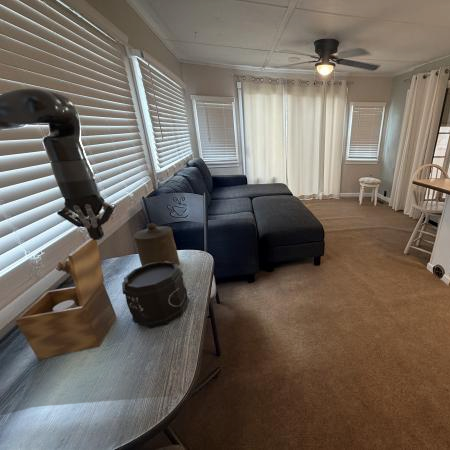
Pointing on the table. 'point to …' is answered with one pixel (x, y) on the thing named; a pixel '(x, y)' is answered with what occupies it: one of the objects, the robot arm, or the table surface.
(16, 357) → the table surface
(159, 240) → the wooden container
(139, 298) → the dark round tin
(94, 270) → the lid
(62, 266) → the lion figurine
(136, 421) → the table surface
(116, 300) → the table surface
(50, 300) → the box
